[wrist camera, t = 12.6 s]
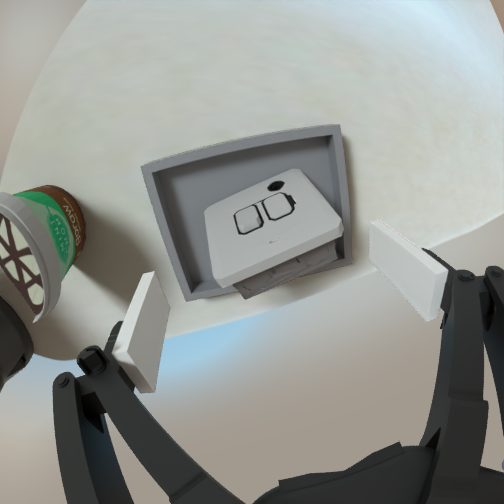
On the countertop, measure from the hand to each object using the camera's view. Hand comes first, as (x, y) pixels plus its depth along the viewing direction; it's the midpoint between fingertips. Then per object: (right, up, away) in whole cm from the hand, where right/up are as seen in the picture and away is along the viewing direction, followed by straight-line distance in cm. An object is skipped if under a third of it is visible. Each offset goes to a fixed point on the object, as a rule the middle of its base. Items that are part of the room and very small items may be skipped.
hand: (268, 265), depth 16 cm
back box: (-1, +5, +10) cm, 11 cm away
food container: (-20, +5, +8) cm, 22 cm away
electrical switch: (0, +5, +10) cm, 11 cm away
